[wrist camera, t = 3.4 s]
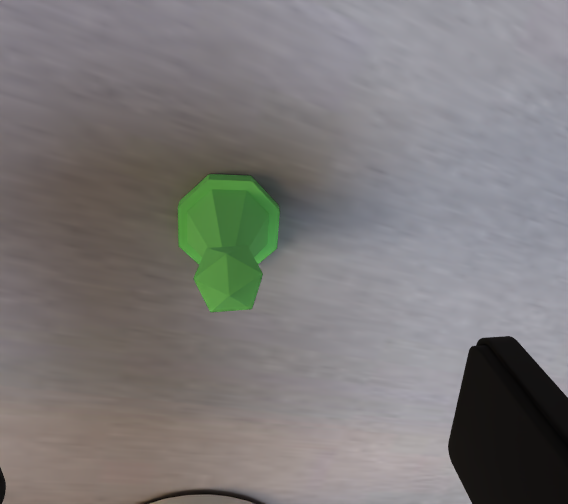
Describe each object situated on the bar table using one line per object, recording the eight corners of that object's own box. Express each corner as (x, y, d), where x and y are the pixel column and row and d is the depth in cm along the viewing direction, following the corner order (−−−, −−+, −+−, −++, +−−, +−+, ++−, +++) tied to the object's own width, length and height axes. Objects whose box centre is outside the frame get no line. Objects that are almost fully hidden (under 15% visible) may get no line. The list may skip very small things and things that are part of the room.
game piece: (298, 197, 19) (325, 261, 14) (253, 281, 21) (263, 369, 16) (200, 152, 18) (188, 204, 13) (160, 245, 20) (134, 327, 14)
